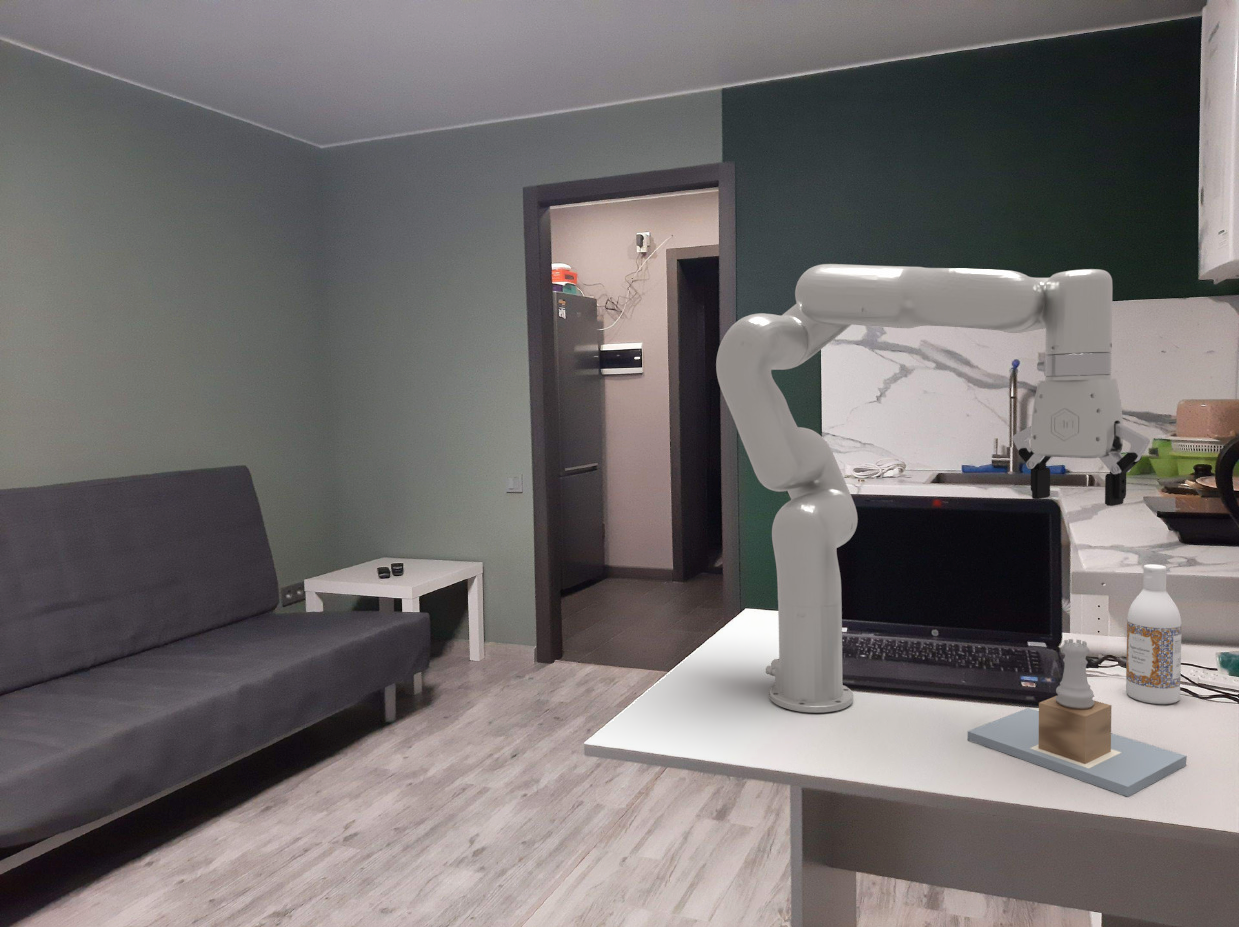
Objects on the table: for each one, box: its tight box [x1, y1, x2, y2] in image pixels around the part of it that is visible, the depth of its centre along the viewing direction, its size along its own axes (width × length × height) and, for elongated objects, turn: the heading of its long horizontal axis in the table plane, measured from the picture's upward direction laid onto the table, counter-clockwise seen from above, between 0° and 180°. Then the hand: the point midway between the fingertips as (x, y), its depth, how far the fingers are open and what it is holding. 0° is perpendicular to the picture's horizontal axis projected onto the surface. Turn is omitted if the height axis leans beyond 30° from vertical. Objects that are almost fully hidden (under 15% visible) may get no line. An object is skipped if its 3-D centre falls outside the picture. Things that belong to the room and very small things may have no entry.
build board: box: [967, 707, 1187, 798], centre depth 115 cm, size 21×14×1 cm, turn 34°
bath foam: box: [1125, 563, 1183, 705], centre depth 132 cm, size 7×7×20 cm
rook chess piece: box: [1054, 638, 1095, 709], centre depth 112 cm, size 4×4×8 cm
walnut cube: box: [1038, 694, 1113, 764], centre depth 112 cm, size 6×6×6 cm
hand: (1076, 501), depth 115 cm, fingers open, 9 cm apart
